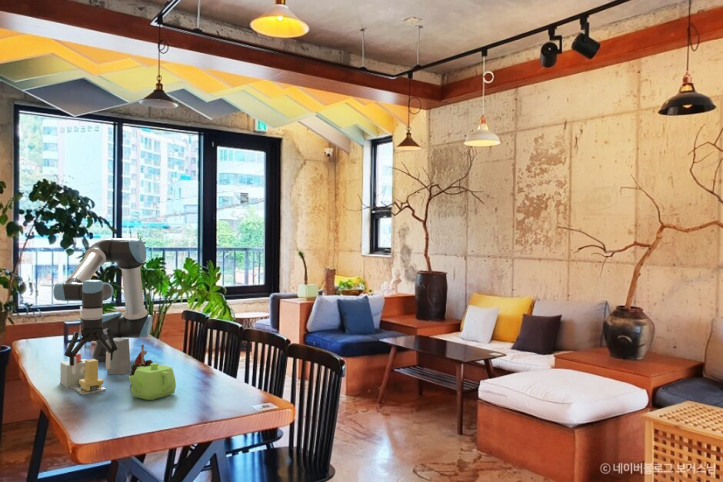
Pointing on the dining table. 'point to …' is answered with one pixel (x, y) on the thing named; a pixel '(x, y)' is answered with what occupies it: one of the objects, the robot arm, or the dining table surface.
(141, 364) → the red brown figurine
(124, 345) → the skincare box
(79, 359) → the button
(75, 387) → the rail base
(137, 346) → the dining table surface
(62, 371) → the cabinet
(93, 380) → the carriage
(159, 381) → the teapot
